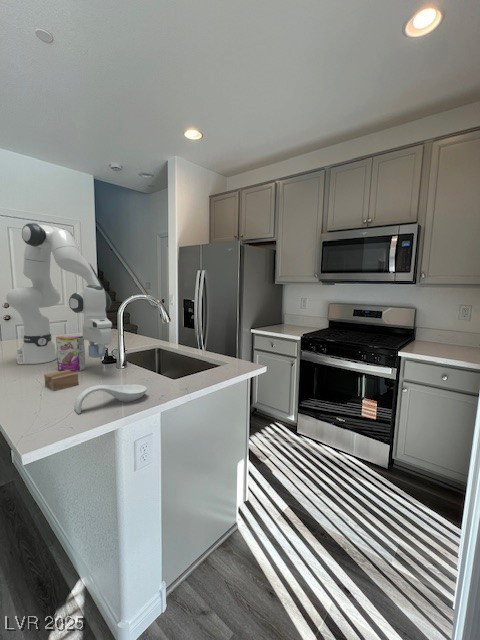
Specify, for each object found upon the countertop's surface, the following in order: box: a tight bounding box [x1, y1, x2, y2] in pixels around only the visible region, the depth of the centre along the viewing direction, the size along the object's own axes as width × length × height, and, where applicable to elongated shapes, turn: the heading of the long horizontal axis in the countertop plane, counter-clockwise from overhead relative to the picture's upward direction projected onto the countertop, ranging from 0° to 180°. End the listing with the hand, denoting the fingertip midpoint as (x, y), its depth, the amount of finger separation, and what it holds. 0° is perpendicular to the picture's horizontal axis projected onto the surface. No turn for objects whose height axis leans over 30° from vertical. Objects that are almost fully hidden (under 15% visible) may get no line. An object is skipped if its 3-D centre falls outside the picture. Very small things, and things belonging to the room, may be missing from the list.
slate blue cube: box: [87, 343, 106, 359], centre depth 134 cm, size 5×5×5 cm
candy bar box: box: [55, 334, 87, 372], centre depth 140 cm, size 11×5×16 cm, turn 84°
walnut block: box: [44, 370, 79, 392], centre depth 119 cm, size 9×9×5 cm
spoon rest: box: [73, 383, 148, 415], centre depth 102 cm, size 24×12×7 cm, turn 134°
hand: (96, 351), depth 134 cm, fingers closed on slate blue cube, 5 cm apart
